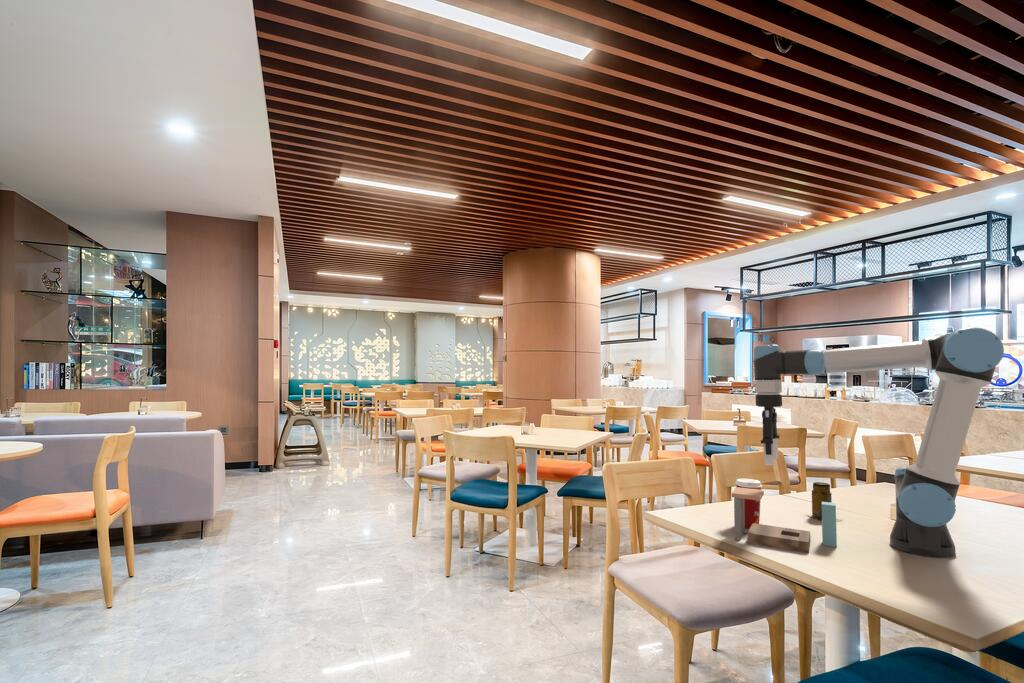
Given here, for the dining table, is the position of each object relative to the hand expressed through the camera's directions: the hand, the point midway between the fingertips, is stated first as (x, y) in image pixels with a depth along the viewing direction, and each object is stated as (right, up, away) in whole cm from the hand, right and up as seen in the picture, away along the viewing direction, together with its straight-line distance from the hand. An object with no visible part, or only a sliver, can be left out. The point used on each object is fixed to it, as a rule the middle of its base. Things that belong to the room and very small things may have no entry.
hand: (771, 462), depth 165 cm
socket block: (0, -23, -6) cm, 23 cm away
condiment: (+29, -25, +21) cm, 43 cm away
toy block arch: (-8, -23, -1) cm, 24 cm away
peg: (+14, -23, -7) cm, 28 cm away
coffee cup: (-2, -24, +11) cm, 26 cm away
